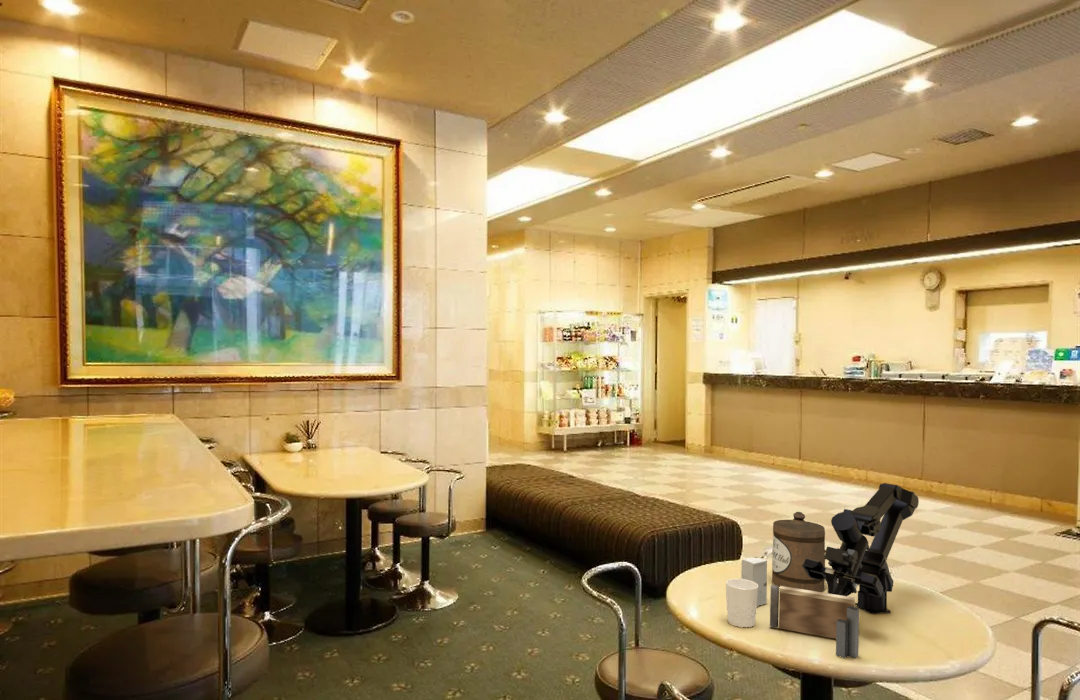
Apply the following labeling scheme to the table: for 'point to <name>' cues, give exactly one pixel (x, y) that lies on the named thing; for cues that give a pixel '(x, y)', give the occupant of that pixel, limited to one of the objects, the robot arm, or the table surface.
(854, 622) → the post
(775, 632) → the table surface
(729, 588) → the white cup
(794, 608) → the gate leaf
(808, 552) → the wooden container
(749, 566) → the skincare box
